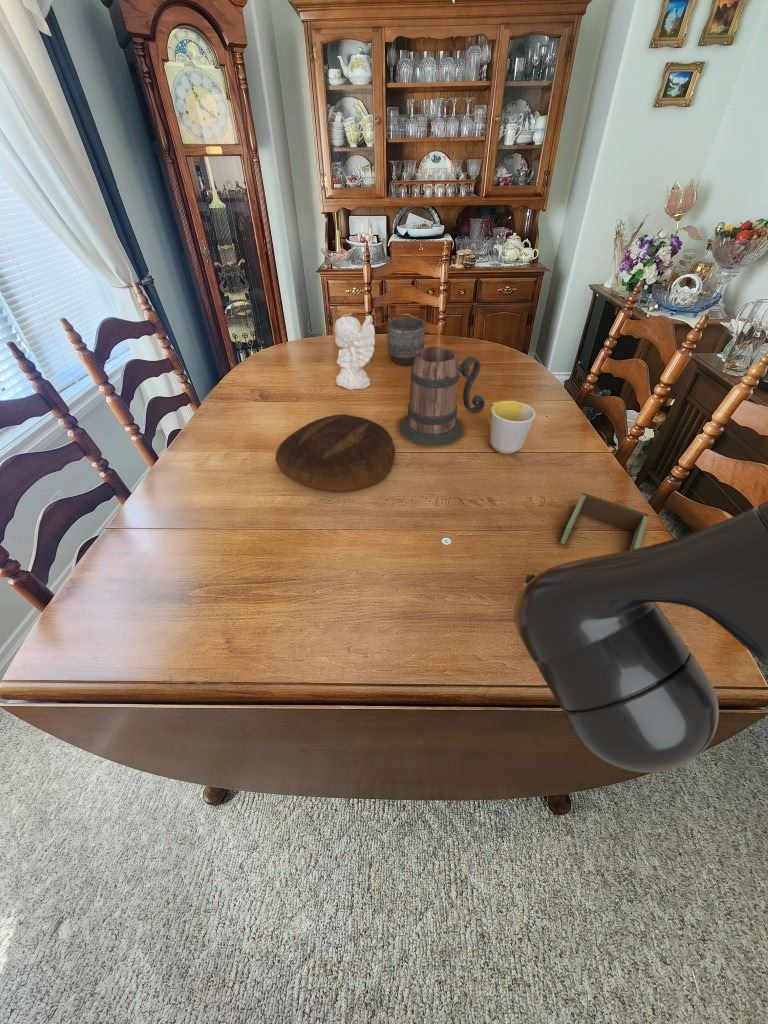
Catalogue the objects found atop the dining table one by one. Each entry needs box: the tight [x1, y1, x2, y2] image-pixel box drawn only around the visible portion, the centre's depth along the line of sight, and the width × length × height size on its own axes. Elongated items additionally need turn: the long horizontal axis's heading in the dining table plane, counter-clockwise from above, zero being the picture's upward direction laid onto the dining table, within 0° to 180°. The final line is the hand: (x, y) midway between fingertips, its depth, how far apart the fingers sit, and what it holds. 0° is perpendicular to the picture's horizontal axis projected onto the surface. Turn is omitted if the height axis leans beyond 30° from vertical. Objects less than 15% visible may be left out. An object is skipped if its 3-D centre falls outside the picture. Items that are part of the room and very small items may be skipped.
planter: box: [387, 316, 426, 367], centre depth 143 cm, size 12×12×13 cm
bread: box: [275, 414, 396, 493], centre depth 101 cm, size 28×27×9 cm
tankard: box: [399, 346, 486, 446], centre depth 109 cm, size 24×17×20 cm
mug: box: [487, 400, 536, 455], centre depth 105 cm, size 14×10×10 cm
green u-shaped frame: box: [559, 492, 650, 550], centre depth 83 cm, size 12×12×4 cm
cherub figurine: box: [334, 314, 376, 391], centre depth 130 cm, size 13×12×20 cm
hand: (584, 607), depth 53 cm, fingers open, 8 cm apart
